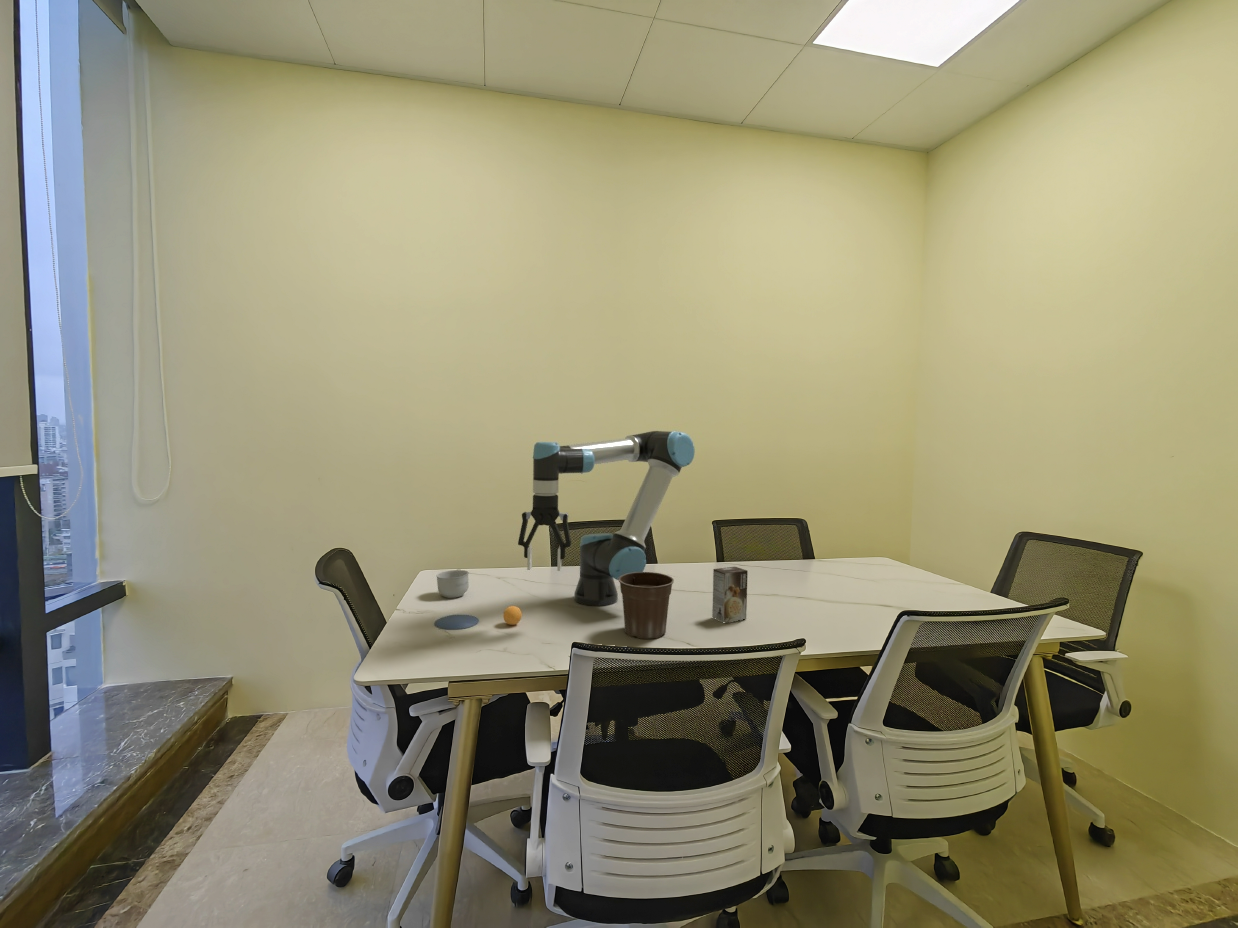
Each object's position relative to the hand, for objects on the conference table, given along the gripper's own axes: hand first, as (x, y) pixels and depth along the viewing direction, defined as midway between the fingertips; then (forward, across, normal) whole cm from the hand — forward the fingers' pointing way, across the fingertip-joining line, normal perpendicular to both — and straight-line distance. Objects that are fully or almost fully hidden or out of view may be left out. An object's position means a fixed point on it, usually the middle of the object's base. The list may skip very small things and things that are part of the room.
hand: (544, 569), depth 173 cm
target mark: (+17, +26, 0) cm, 32 cm away
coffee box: (+18, -58, -13) cm, 62 cm away
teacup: (+18, +36, -28) cm, 49 cm away
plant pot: (+18, -30, +2) cm, 35 cm away
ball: (+15, +10, 0) cm, 17 cm away
